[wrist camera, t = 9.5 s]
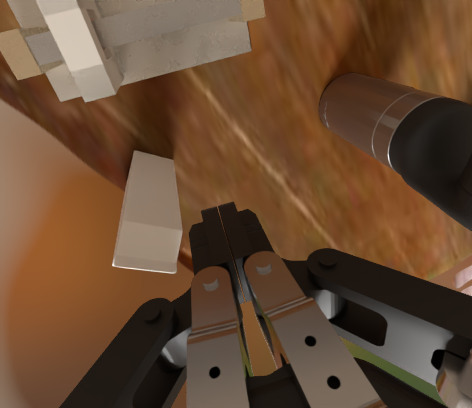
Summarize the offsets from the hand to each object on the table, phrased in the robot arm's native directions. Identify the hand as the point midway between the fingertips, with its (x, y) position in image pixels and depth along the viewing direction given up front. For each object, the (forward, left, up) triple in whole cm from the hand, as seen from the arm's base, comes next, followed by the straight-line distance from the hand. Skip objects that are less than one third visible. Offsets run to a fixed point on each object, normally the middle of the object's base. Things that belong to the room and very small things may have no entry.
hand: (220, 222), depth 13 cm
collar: (+7, -8, -31) cm, 33 cm away
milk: (+8, +11, -34) cm, 36 cm away
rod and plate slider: (+2, -8, -33) cm, 34 cm away
